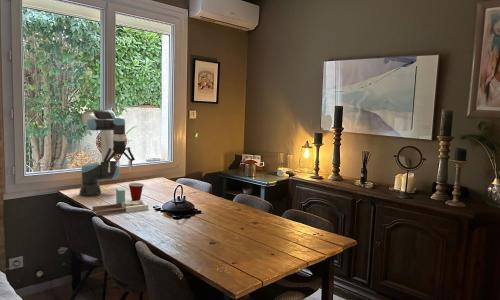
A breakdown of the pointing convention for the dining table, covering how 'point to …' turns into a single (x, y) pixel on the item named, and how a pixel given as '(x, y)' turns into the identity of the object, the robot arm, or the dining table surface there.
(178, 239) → the dining table surface
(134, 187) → the plastic cup
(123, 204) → the tray
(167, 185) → the dining table surface
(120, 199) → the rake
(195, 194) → the dining table surface
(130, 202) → the cube
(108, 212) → the channel board
